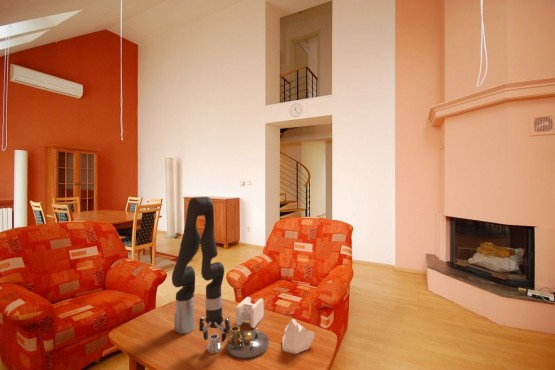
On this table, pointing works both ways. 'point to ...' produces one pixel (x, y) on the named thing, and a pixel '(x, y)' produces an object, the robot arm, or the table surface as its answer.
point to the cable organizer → (249, 312)
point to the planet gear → (214, 344)
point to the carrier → (249, 345)
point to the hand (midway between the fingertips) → (214, 339)
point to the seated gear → (235, 335)
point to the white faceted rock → (296, 338)
